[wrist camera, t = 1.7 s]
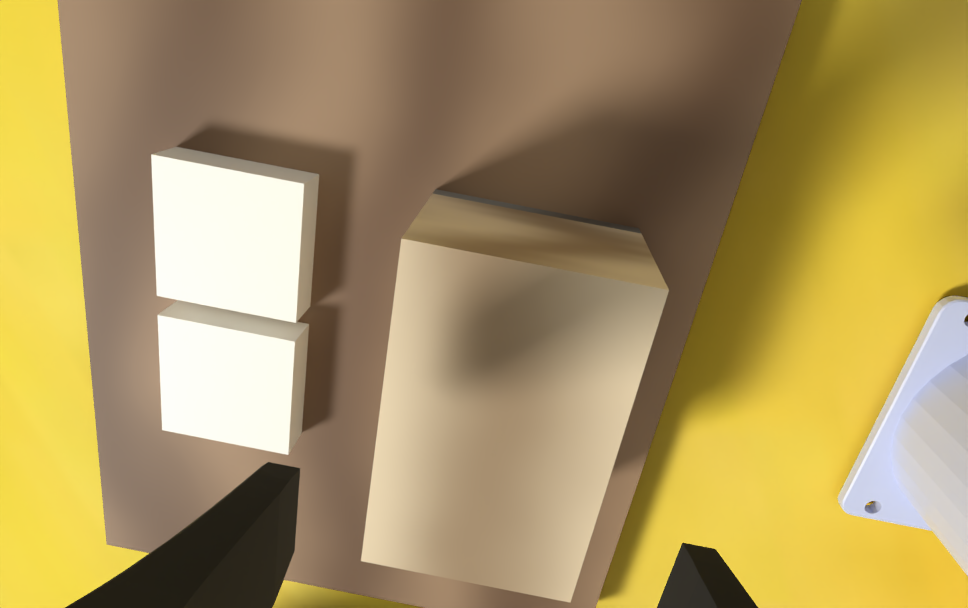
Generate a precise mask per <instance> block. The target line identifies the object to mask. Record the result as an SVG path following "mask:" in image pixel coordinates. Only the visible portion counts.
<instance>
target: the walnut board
mask: <svg viewBox="0 0 968 608" xmlns="http://www.w3.org/2000/svg"><path fill="white" fill-rule="evenodd" d="M801 1H802V0H58V10H59V21H60V32H61V43H62V54H63V65H64V76H65V87H66V98H67V109H68V120H69V131H70V143H71V154H72V165H73V176H74V187H75V198H76V209H77V220H78V231H79V242H80V253H81V264H82V275H83V286H84V297H85V309H86V320H87V331H88V342H89V353H90V364H91V375H92V386H93V397H94V408H95V419H96V430H97V441H98V452H99V463H100V475H101V486H102V497H103V508H104V519H105V530H106V541H107V545H112V546H117V547H122V548H127V549H132V550H137V551H142V552H147V553H151V552H152V551H154V550H155V549H157V548H158V547H159V546H161V545H162V544H164V543H165V542H167V541H168V540H169V539H171V538H172V537H173V536H175V535H176V534H178V533H179V532H180V531H181V530H183V529H184V528H185V527H187V526H188V525H189V524H191V523H192V522H193V521H194V520H196V519H197V518H198V517H200V516H201V515H202V514H204V513H205V512H206V511H208V510H209V509H210V508H211V507H213V506H214V505H215V504H216V503H218V502H219V501H220V500H221V499H223V498H224V497H225V496H226V495H227V494H229V493H230V492H231V491H232V490H234V489H235V488H236V487H237V486H238V485H240V484H241V483H242V482H243V481H244V480H246V479H247V478H248V477H249V476H250V475H252V474H253V473H254V472H255V471H256V470H258V469H259V468H260V467H261V466H263V465H264V464H266V463H267V462H271V463H276V464H281V465H286V466H292V467H297V468H300V480H299V494H298V509H297V524H296V538H295V551H294V554H293V556H292V559H291V562H290V564H289V567H288V570H287V572H286V575H285V577H284V580H288V581H293V582H298V583H303V584H308V585H313V586H318V587H323V588H328V589H333V590H338V591H343V592H348V593H353V594H358V595H363V596H368V597H373V598H378V599H383V600H388V601H393V602H398V603H404V604H409V605H414V606H419V607H424V608H596V605H597V602H598V599H599V596H600V593H601V590H602V587H603V584H604V581H605V578H606V575H607V572H608V570H609V567H610V564H611V561H612V558H613V555H614V552H615V549H616V546H617V543H618V540H619V537H620V534H621V531H622V528H623V525H624V522H625V519H626V517H627V514H628V511H629V508H630V505H631V502H632V499H633V496H634V493H635V490H636V487H637V484H638V481H639V478H640V475H641V472H642V469H643V466H644V464H645V461H646V458H647V455H648V452H649V449H650V446H651V443H652V440H653V437H654V434H655V431H656V428H657V425H658V422H659V419H660V416H661V413H662V411H663V408H664V405H665V402H666V399H667V396H668V393H669V390H670V387H671V384H672V381H673V378H674V375H675V372H676V369H677V366H678V363H679V360H680V357H681V355H682V352H683V349H684V346H685V343H686V340H687V337H688V334H689V331H690V328H691V325H692V322H693V319H694V316H695V313H696V310H697V307H698V304H699V302H700V299H701V296H702V293H703V290H704V287H705V284H706V281H707V278H708V275H709V272H710V269H711V266H712V263H713V260H714V257H715V254H716V251H717V249H718V246H719V243H720V240H721V237H722V234H723V231H724V228H725V225H726V222H727V219H728V216H729V213H730V210H731V207H732V204H733V201H734V198H735V195H736V193H737V190H738V187H739V184H740V181H741V178H742V175H743V172H744V169H745V166H746V163H747V160H748V157H749V154H750V151H751V148H752V145H753V142H754V140H755V137H756V134H757V131H758V128H759V125H760V122H761V119H762V116H763V113H764V110H765V107H766V104H767V101H768V98H769V95H770V92H771V89H772V87H773V84H774V81H775V78H776V75H777V72H778V69H779V66H780V63H781V60H782V57H783V54H784V51H785V48H786V45H787V42H788V39H789V36H790V34H791V31H792V28H793V25H794V22H795V19H796V16H797V13H798V10H799V7H800V4H801ZM173 147H180V148H185V149H191V150H196V151H201V152H206V153H211V154H217V155H222V156H227V157H232V158H237V159H243V160H248V161H253V162H258V163H263V164H269V165H274V166H279V167H284V168H289V169H295V170H300V171H305V172H310V173H315V174H319V186H318V200H317V215H316V230H315V245H314V260H313V274H312V289H311V304H310V307H309V308H308V309H307V311H306V312H305V313H304V314H303V315H302V316H301V318H300V319H299V320H298V321H297V322H302V323H307V324H309V334H308V348H307V363H306V378H305V393H304V408H303V422H302V433H301V435H300V436H299V438H298V440H297V441H296V443H295V445H294V446H293V448H292V450H291V451H290V453H289V455H286V454H281V453H276V452H271V451H266V450H261V449H256V448H251V447H245V446H240V445H235V444H230V443H225V442H220V441H215V440H210V439H205V438H200V437H195V436H190V435H185V434H179V433H174V432H169V431H164V430H162V413H161V388H160V363H159V338H158V314H160V313H161V312H162V311H164V310H165V309H166V308H168V307H169V306H170V305H172V304H173V303H175V302H176V301H177V300H176V299H170V298H165V297H160V296H157V288H156V263H155V238H154V213H153V188H152V163H151V154H154V153H157V152H160V151H164V150H167V149H170V148H173ZM435 189H437V190H442V191H447V192H453V193H458V194H463V195H468V196H473V197H479V198H484V199H489V200H494V201H499V202H505V203H510V204H515V205H520V206H525V207H531V208H536V209H541V210H546V211H552V212H557V213H562V214H567V215H572V216H578V217H583V218H588V219H593V220H598V221H604V222H609V223H614V224H619V225H624V226H630V227H635V228H639V230H640V232H641V234H642V236H643V238H644V240H645V242H646V244H647V246H648V248H649V250H650V252H651V254H652V256H653V258H654V260H655V262H656V264H657V266H658V268H659V271H660V273H661V275H662V277H663V279H664V281H665V283H666V285H667V287H668V289H669V292H668V295H667V298H666V302H665V305H664V308H663V311H662V314H661V317H660V321H659V324H658V327H657V330H656V333H655V336H654V340H653V343H652V346H651V349H650V352H649V355H648V359H647V362H646V365H645V368H644V371H643V374H642V378H641V381H640V384H639V387H638V390H637V393H636V397H635V400H634V403H633V406H632V409H631V412H630V416H629V419H628V422H627V425H626V428H625V431H624V435H623V438H622V441H621V444H620V447H619V450H618V454H617V457H616V460H615V463H614V466H613V469H612V473H611V476H610V479H609V482H608V485H607V488H606V492H605V495H604V498H603V501H602V504H601V507H600V511H599V514H598V517H597V520H596V523H595V526H594V530H593V533H592V536H591V539H590V542H589V545H588V549H587V552H586V555H585V558H584V561H583V564H582V568H581V571H580V574H579V577H578V580H577V583H576V587H575V590H574V593H573V596H572V599H571V602H565V601H560V600H555V599H549V598H544V597H539V596H534V595H529V594H524V593H519V592H514V591H509V590H504V589H499V588H494V587H489V586H484V585H479V584H474V583H469V582H464V581H459V580H454V579H449V578H444V577H439V576H434V575H429V574H424V573H419V572H413V571H408V570H403V569H398V568H393V567H388V566H383V565H378V564H373V563H368V562H363V561H361V556H362V548H363V540H364V532H365V524H366V516H367V508H368V501H369V493H370V485H371V477H372V469H373V461H374V453H375V445H376V437H377V429H378V421H379V413H380V405H381V397H382V389H383V381H384V373H385V365H386V357H387V349H388V341H389V333H390V325H391V317H392V309H393V301H394V293H395V285H396V277H397V269H398V261H399V253H400V246H401V238H402V237H403V235H404V234H405V233H406V231H407V230H408V228H409V227H410V225H411V224H412V222H413V221H414V219H415V218H416V217H417V215H418V214H419V212H420V211H421V209H422V208H423V206H424V205H425V204H426V202H427V201H428V199H429V198H430V196H431V195H432V193H433V192H434V190H435Z"/></svg>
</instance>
